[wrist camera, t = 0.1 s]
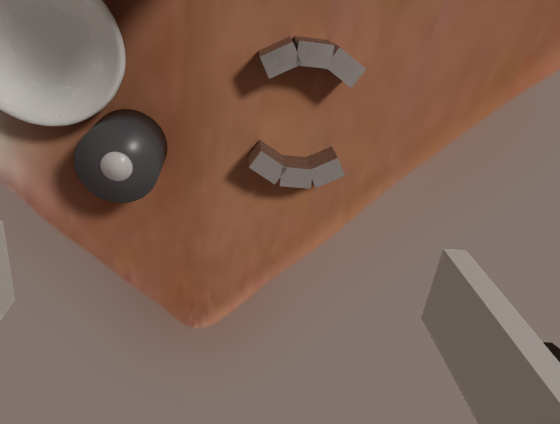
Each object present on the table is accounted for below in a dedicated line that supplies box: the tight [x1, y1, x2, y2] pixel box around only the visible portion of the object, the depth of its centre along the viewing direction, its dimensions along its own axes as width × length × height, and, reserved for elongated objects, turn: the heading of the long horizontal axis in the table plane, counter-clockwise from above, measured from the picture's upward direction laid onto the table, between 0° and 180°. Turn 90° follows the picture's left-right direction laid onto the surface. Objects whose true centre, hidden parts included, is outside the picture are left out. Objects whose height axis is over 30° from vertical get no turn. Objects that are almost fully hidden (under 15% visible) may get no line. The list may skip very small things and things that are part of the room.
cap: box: [74, 109, 167, 203], centre depth 38 cm, size 6×6×5 cm
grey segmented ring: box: [248, 36, 366, 189], centre depth 39 cm, size 12×8×3 cm
